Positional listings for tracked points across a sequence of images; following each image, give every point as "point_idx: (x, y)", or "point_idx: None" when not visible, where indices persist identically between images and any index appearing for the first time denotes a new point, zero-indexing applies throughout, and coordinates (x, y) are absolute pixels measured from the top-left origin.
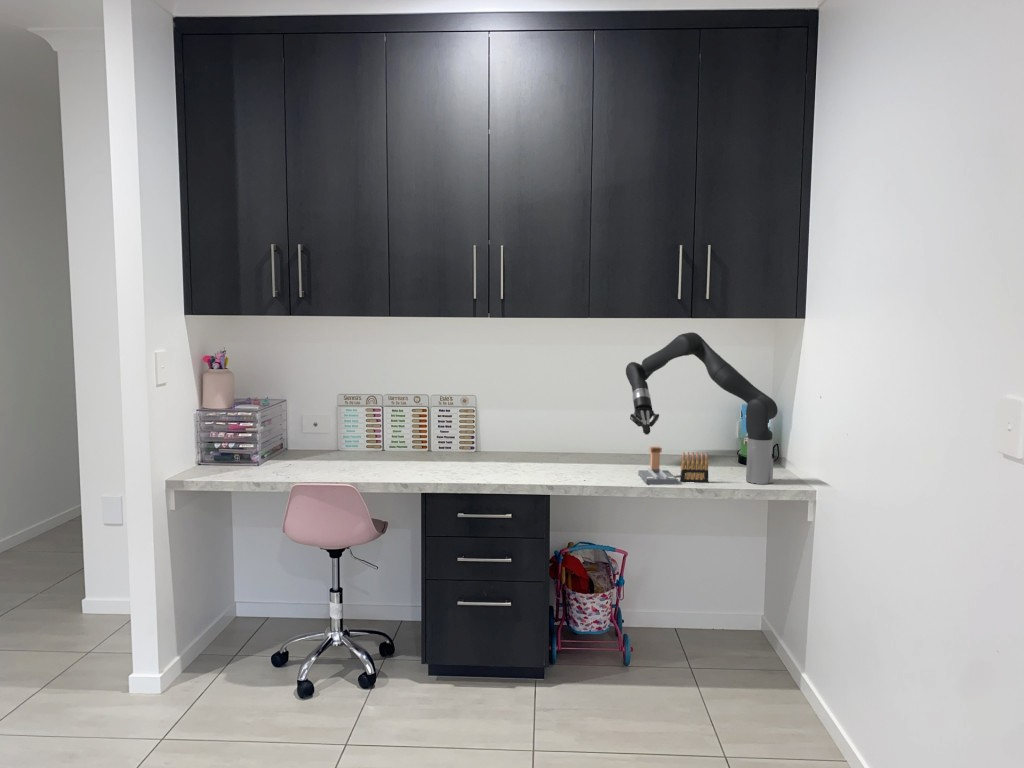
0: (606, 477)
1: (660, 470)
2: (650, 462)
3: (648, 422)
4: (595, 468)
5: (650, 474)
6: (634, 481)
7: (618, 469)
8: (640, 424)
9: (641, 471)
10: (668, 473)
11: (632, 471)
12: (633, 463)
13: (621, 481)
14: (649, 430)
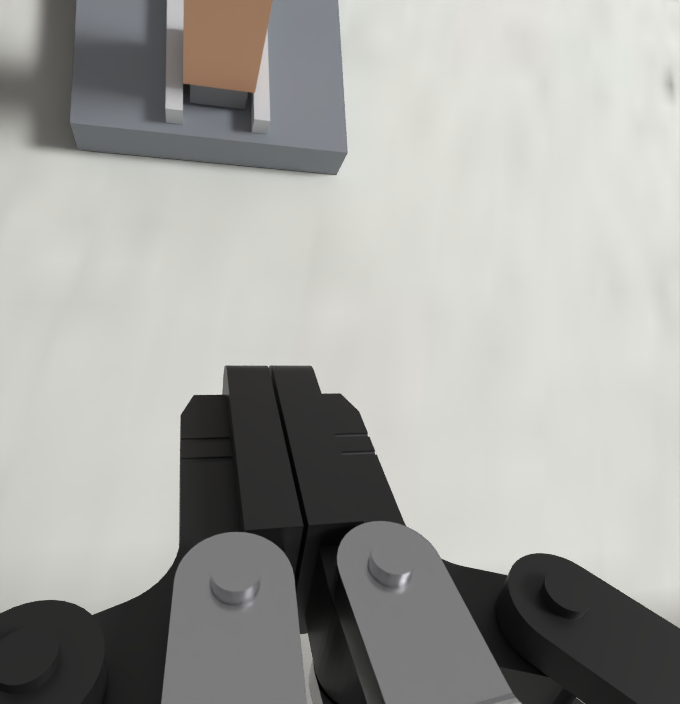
0: (556, 136)
1: (174, 20)
2: (261, 56)
3: (226, 617)
4: (630, 422)
5: (273, 4)
6: (388, 6)
7: (467, 386)
8: (494, 582)
9: (328, 109)
10: (103, 8)
11: (363, 309)
12: (306, 680)
13: (470, 22)
14: (208, 409)
